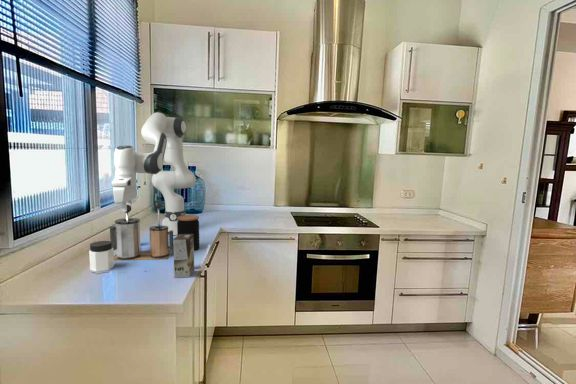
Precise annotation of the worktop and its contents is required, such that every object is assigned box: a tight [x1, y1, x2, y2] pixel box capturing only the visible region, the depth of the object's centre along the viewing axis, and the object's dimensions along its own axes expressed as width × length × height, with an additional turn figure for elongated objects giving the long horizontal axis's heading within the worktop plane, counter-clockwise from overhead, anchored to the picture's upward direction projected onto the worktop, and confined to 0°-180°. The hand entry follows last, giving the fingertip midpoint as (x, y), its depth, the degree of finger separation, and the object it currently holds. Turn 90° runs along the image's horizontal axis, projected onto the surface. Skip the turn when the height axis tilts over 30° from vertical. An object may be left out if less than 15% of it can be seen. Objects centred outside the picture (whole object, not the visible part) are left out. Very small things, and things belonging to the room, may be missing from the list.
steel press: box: [109, 217, 142, 261], centre depth 154 cm, size 10×12×18 cm
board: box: [114, 249, 174, 262], centre depth 157 cm, size 14×26×1 cm, turn 98°
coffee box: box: [173, 234, 195, 278], centre depth 137 cm, size 9×6×16 cm
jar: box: [88, 240, 115, 275], centre depth 139 cm, size 9×8×12 cm
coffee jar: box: [177, 214, 200, 252], centre depth 168 cm, size 11×11×18 cm
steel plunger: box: [124, 204, 132, 221], centre depth 154 cm, size 7×7×22 cm
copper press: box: [148, 225, 174, 258], centre depth 157 cm, size 8×10×14 cm
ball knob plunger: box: [154, 201, 163, 228], centre depth 155 cm, size 6×6×17 cm
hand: (126, 210), depth 153 cm, fingers closed on steel plunger, 4 cm apart
